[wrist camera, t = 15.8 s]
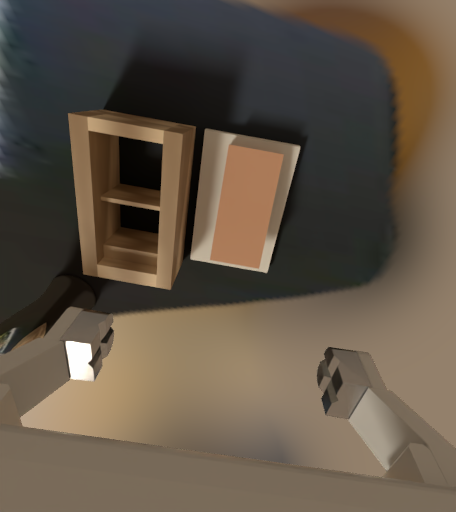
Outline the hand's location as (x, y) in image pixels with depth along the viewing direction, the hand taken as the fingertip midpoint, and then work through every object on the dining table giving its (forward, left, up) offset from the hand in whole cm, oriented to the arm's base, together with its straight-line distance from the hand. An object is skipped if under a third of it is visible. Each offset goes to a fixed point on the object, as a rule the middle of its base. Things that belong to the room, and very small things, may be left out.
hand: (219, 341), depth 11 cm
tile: (+1, -2, -20) cm, 20 cm away
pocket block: (-10, -3, -22) cm, 24 cm away
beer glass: (-19, -18, -22) cm, 35 cm away
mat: (0, -2, -22) cm, 22 cm away
